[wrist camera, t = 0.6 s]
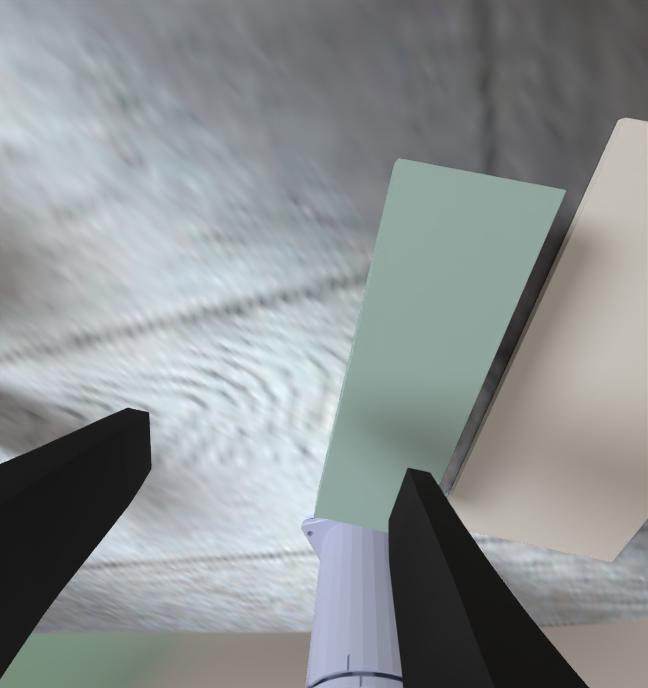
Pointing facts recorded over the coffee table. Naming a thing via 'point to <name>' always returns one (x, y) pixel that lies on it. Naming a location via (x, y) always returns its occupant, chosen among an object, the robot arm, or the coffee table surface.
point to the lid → (428, 329)
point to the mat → (576, 383)
